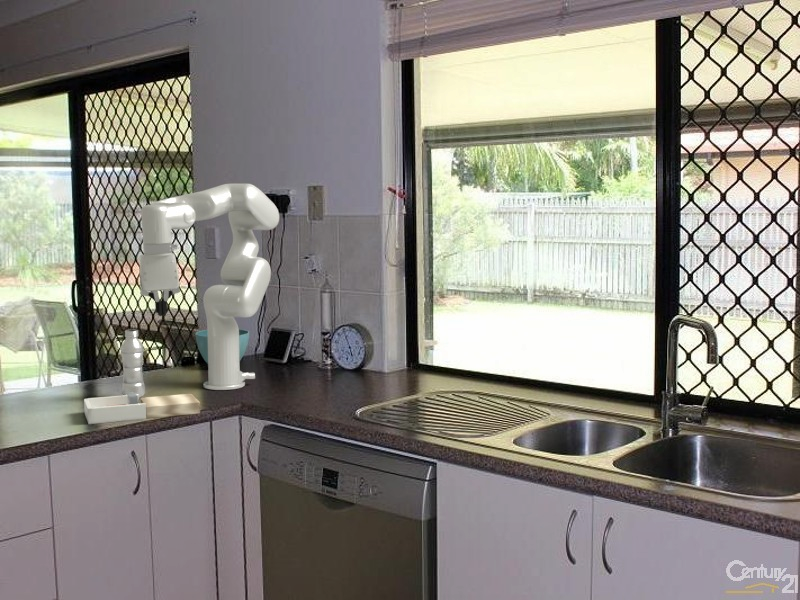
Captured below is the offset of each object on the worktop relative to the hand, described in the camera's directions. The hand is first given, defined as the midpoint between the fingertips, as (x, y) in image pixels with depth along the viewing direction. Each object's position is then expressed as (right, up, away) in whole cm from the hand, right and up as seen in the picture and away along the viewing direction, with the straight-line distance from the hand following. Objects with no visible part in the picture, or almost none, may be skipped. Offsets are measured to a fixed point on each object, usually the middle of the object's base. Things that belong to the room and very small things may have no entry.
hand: (161, 314), depth 245 cm
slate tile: (-5, -24, -8) cm, 25 cm away
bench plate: (+3, -26, -4) cm, 27 cm away
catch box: (-10, -27, -10) cm, 30 cm away
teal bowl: (+5, -19, +60) cm, 63 cm away
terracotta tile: (-9, -24, -10) cm, 28 cm away
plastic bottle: (-11, -25, +11) cm, 29 cm away
